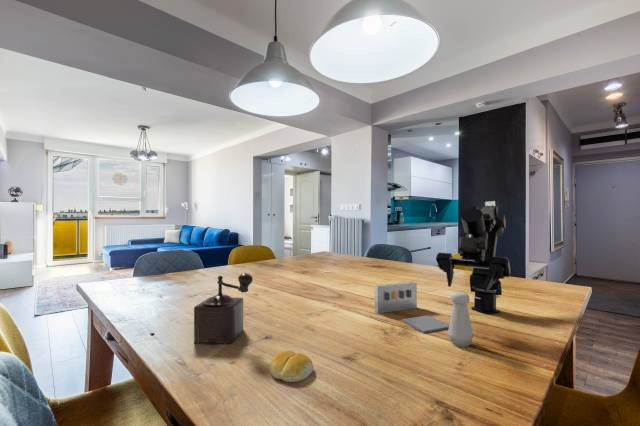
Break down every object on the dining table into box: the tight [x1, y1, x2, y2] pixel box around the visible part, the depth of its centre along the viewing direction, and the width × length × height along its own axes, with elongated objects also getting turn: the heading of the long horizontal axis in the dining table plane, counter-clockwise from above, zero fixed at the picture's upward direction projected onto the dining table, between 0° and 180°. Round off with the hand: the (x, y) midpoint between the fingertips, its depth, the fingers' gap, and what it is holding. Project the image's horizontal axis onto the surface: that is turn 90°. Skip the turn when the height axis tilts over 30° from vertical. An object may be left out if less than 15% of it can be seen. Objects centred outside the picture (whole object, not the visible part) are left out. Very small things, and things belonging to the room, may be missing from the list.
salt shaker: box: [447, 291, 474, 348], centre depth 77 cm, size 6×6×13 cm
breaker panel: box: [374, 281, 418, 315], centre depth 104 cm, size 16×3×9 cm, turn 111°
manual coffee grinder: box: [193, 272, 254, 345], centre depth 83 cm, size 16×11×18 cm
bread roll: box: [269, 350, 314, 383], centre depth 64 cm, size 8×9×4 cm
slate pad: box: [401, 314, 450, 334], centre depth 91 cm, size 10×10×1 cm
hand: (466, 288), depth 83 cm, fingers open, 9 cm apart
